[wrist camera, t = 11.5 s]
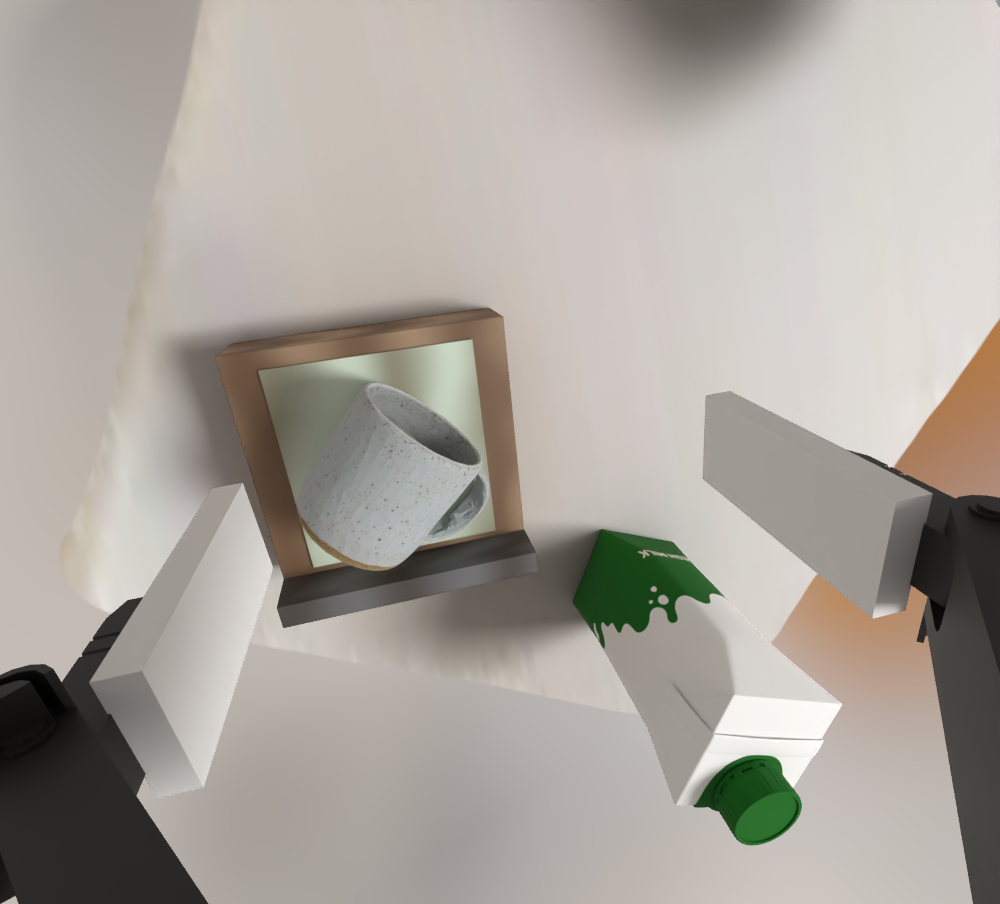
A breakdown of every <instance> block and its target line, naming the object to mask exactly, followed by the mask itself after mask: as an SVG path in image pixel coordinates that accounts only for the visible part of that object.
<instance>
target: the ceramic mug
mask: <svg viewBox="0 0 1000 904" xmlns="http://www.w3.org/2000/svg"><path fill="white" fill-rule="evenodd" d="M482 466H483V462H482V457H481V455H480V454H479V452H478V451H477V449H476V448H475V447H474V445H473V444H472V443H471V442H470V440H469V439H468V438H467V437H466V436H465V435H464V434H463V433H462V432H461V431H460V430H459V429H457V428H456V427H455V426H454V425H453V424H452V423H450V422H449V421H448V420H447V419H446V418H444V417H443V416H442V415H440V414H438V413H437V412H435V411H434V410H433V409H431V408H430V407H429V406H427V405H426V404H424V403H423V402H421V401H419V400H418V399H416V398H414V397H412V396H411V395H409V394H407V393H404V392H403V391H401V390H399V389H396V388H393V387H391V386H389V385H385V384H382V383H377V382H374V383H368V384H365V385H364V386H363V387H362V388H361V389H360V391H359V392H358V394H357V395H356V397H355V399H354V401H353V402H352V404H351V406H350V407H349V409H348V410H347V412H346V414H345V415H344V417H343V418H342V420H341V421H340V423H339V425H338V426H337V428H336V429H335V431H334V432H333V434H332V435H331V437H330V439H329V441H328V443H327V444H326V446H325V448H324V449H323V451H322V452H321V454H320V455H319V457H318V458H317V460H316V461H315V463H314V465H313V466H312V468H311V469H310V471H309V472H308V474H307V476H306V477H305V480H304V482H303V485H302V487H301V489H300V492H299V494H298V498H297V502H296V503H297V514H298V517H299V520H300V523H301V525H302V526H303V528H304V529H305V531H306V532H307V534H308V535H309V536H310V538H311V539H312V540H313V541H314V542H315V543H316V544H317V545H318V546H319V547H321V548H322V549H323V550H324V551H325V552H326V553H328V554H330V555H331V556H333V557H335V558H336V559H338V560H340V561H342V562H343V563H346V564H348V565H351V566H354V567H356V568H360V569H364V570H372V571H381V570H388V569H391V568H394V567H396V566H397V565H399V564H400V563H401V562H403V561H404V560H405V559H406V558H408V557H409V556H410V555H411V554H412V553H413V552H414V551H415V550H416V549H417V548H418V547H419V546H420V544H421V543H422V542H423V541H435V540H442V539H445V538H448V537H450V536H453V535H454V534H456V533H458V532H460V531H461V530H463V529H464V528H465V527H467V526H468V525H469V524H470V523H471V522H472V521H473V520H474V519H475V518H476V517H477V516H478V515H479V514H480V513H481V511H482V510H483V508H484V507H485V505H486V503H487V501H488V498H489V493H490V490H489V482H488V478H487V477H486V475H485V473H484V471H483V470H482V469H481V468H482ZM475 477H476V480H475V484H474V485H473V489H472V490H471V492H470V493H469V494H468V496H467V497H466V498H465V499H464V500H463V501H462V502H461V503H460V504H459V506H458V507H457V508H456V509H455V510H454V511H452V512H451V513H450V515H449V516H447V517H445V518H443V519H441V517H442V516H443V515H444V514H445V513H446V512H447V510H448V509H449V508H450V507H451V506H452V505H453V503H454V502H455V501H456V500H457V499H458V497H459V496H460V495H461V494H462V493H463V491H464V490H465V489H466V488H467V486H468V485H469V484H470V483H471V482H472V480H473V479H474V478H475ZM440 519H441V520H440Z"/></svg>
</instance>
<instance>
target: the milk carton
mask: <svg viewBox="0 0 1000 904" xmlns="http://www.w3.org/2000/svg"><path fill="white" fill-rule="evenodd" d="M573 603H574V605H575V606H576V608H577V609H578V611H579V612H580V614H581V615H582V617H583V618H584V620H585V621H586V623H587V624H588V625H589V627H590V628H591V630H592V631H593V633H594V634H595V636H596V637H597V639H598V640H599V642H600V644H601V646H602V647H603V649H604V651H605V653H606V655H607V656H608V658H609V660H610V662H611V663H612V665H613V667H614V669H615V671H616V672H617V674H618V676H619V678H620V679H621V681H622V683H623V685H624V687H625V688H626V690H627V692H628V694H629V696H630V697H631V699H632V701H633V703H634V704H635V706H636V708H637V710H638V712H639V713H640V715H641V717H642V719H643V721H644V722H645V724H646V726H647V728H648V731H649V733H650V736H651V739H652V742H653V744H654V747H655V750H656V753H657V755H658V758H659V761H660V764H661V767H662V769H663V773H664V775H665V778H666V781H667V784H668V787H669V790H670V792H671V795H672V798H673V801H674V803H675V804H676V805H679V806H680V805H682V806H684V805H693V806H694V807H709V808H711V809H713V810H715V811H719V812H720V814H721V815H722V817H723V819H724V820H725V822H726V823H727V825H728V827H729V828H730V830H731V831H732V833H733V835H734V836H735V837H736V839H737V840H738V841H739V842H741V843H743V844H746V845H759V844H763V843H766V842H769V841H771V840H774V839H775V838H777V837H779V836H780V835H782V834H783V833H785V832H786V831H787V830H788V829H789V828H790V827H791V826H792V825H793V824H794V823H795V822H796V820H797V818H798V817H799V815H800V812H801V808H802V807H801V806H802V804H801V800H800V798H799V796H798V795H797V793H796V792H795V790H794V789H793V787H794V785H795V784H796V782H797V780H798V779H799V777H800V775H801V774H802V772H803V771H804V769H805V768H806V766H807V765H808V763H809V762H810V760H811V758H812V757H813V756H814V755H815V754H816V753H817V752H818V750H819V748H820V746H821V745H822V743H823V739H822V736H823V735H824V733H825V732H826V730H827V728H828V727H829V725H830V723H831V722H832V720H833V719H834V717H835V715H836V714H837V712H838V711H839V709H840V707H841V706H842V704H841V703H840V702H839V701H838V700H836V699H835V698H834V697H833V696H831V695H830V694H829V693H828V692H827V691H825V690H824V689H823V688H822V687H821V686H820V685H818V684H817V683H816V682H815V681H814V680H812V679H811V678H810V677H809V676H808V675H807V674H805V673H804V672H803V671H802V670H801V669H800V668H798V667H797V666H796V665H795V664H794V663H793V662H791V661H790V660H789V659H788V658H787V657H785V656H784V655H783V654H782V653H781V652H779V651H778V650H777V649H776V648H775V647H774V646H773V645H772V644H771V643H770V642H769V641H768V640H767V639H766V638H765V637H764V636H763V635H762V634H761V633H760V632H759V631H758V630H757V629H756V628H755V627H754V626H753V625H752V624H751V623H750V622H749V621H748V620H747V619H746V618H745V617H744V616H743V615H742V614H741V613H740V612H739V611H738V610H737V609H736V608H735V607H734V606H733V605H732V604H731V603H730V602H729V601H728V600H727V599H726V598H725V597H724V596H723V595H722V594H721V592H720V591H719V590H718V589H717V588H716V587H715V586H714V585H713V584H712V583H711V582H710V581H709V580H708V579H707V578H706V577H705V576H704V575H703V574H702V573H701V572H700V571H699V570H698V569H697V568H696V567H695V566H694V565H693V564H692V563H691V562H690V560H689V559H688V558H687V557H686V556H685V555H684V554H683V553H682V552H681V550H680V549H679V548H678V547H677V546H676V545H675V544H674V543H673V542H668V541H663V540H657V539H652V538H646V537H641V536H635V535H629V534H624V533H618V532H613V531H607V530H601V532H600V535H599V537H598V540H597V542H596V545H595V547H594V550H593V552H592V555H591V557H590V560H589V562H588V565H587V567H586V570H585V572H584V575H583V577H582V580H581V582H580V585H579V587H578V590H577V592H576V595H575V597H574V600H573Z"/></svg>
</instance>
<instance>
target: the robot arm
mask: <svg viewBox="0 0 1000 904" xmlns="http://www.w3.org/2000/svg"><path fill="white" fill-rule="evenodd" d="M996 2H997V4H998V6H999V7H1000V0H996ZM703 479H704V480H705V481H706V482H707V483H708V484H710V485H711V486H712V487H713V488H715V489H716V490H717V491H718V492H719V493H721V494H722V495H723V496H724V497H725V498H727V499H728V500H729V501H730V502H732V503H733V504H734V505H735V506H736V507H738V508H739V509H740V510H741V511H742V512H744V513H745V514H746V515H747V516H749V517H750V518H751V519H752V520H753V521H755V522H756V523H757V524H758V525H759V526H761V527H762V528H763V529H764V530H766V531H767V532H768V533H769V534H770V535H772V536H773V537H774V538H775V539H776V540H778V541H779V542H780V543H781V544H783V545H784V546H785V547H786V548H787V549H789V550H790V551H791V552H792V553H793V554H795V555H796V556H797V557H798V558H800V559H801V560H802V561H803V562H804V563H806V564H807V565H808V566H809V567H810V568H812V569H813V570H814V571H815V572H817V573H818V574H819V575H820V576H822V577H823V578H824V579H825V580H826V581H828V582H829V583H830V584H831V585H832V586H833V587H835V588H836V589H838V591H840V592H841V593H842V594H843V595H844V596H846V597H847V598H848V599H849V600H851V601H852V602H853V603H854V604H855V605H857V606H858V607H859V608H860V609H861V610H863V611H864V612H865V613H866V614H867V615H869V616H870V617H871V618H877V617H881V616H885V615H889V614H892V613H896V612H900V611H904V610H906V606H907V602H908V597H909V593H910V589H911V585H912V586H913V587H915V588H916V589H918V590H919V591H921V592H922V593H923V594H925V595H926V596H928V598H927V602H926V606H925V610H924V614H923V617H922V622H921V625H920V629H919V634H918V638H917V642H922V643H923V642H924V639H925V636H927V635H928V639H929V645H930V651H931V657H932V663H933V668H934V675H935V681H936V686H937V693H938V699H939V704H940V711H941V716H942V722H943V728H944V734H945V740H946V746H947V752H948V758H949V764H950V770H951V776H952V782H953V788H954V793H955V799H956V805H957V811H958V817H959V823H960V828H961V835H962V841H963V846H964V853H965V859H966V864H967V870H968V876H969V882H970V888H971V893H972V900H973V904H1000V498H997V497H992V496H982V495H970V496H962V497H958V498H956V499H955V498H953V497H951V496H949V495H947V494H945V493H943V492H941V491H939V490H937V489H935V488H933V487H931V486H928V485H926V484H925V483H923V482H921V481H919V480H917V479H915V478H913V477H911V476H909V475H905V476H904V473H902V472H900V471H898V470H896V469H894V468H892V467H890V468H889V467H888V465H886V464H884V463H882V462H880V461H878V460H876V459H874V458H872V457H870V456H867V455H864V454H860V453H856V452H853V451H849V450H845V449H844V448H842V447H840V446H838V445H836V444H834V443H832V442H830V441H828V440H826V439H824V438H822V437H820V436H818V435H816V434H814V433H812V432H810V431H808V430H806V429H804V428H802V427H800V426H798V425H796V424H794V423H792V422H790V421H788V420H786V419H784V418H782V417H780V416H778V415H776V414H774V413H772V412H770V411H768V410H766V409H764V408H762V407H760V406H758V405H756V404H754V403H752V402H750V401H748V400H746V399H744V398H742V397H741V396H739V395H737V394H735V393H733V392H731V391H728V392H722V393H717V394H712V395H706V401H705V429H704V457H703ZM272 570H273V566H272V563H271V561H270V558H269V555H268V552H267V549H266V547H265V544H264V541H263V538H262V535H261V532H260V530H259V527H258V524H257V521H256V518H255V516H254V513H253V510H252V507H251V504H250V502H249V499H248V496H247V493H246V490H245V488H244V485H243V483H238V484H233V485H227V486H222V487H217V488H212V490H211V491H210V493H209V495H208V496H207V498H206V499H205V501H204V502H203V504H202V506H201V507H200V509H199V510H198V512H197V513H196V515H195V517H194V518H193V520H192V521H191V523H190V524H189V526H188V528H187V529H186V531H185V532H184V534H183V535H182V537H181V539H180V540H179V542H178V543H177V545H176V546H175V548H174V550H173V551H172V553H171V554H170V556H169V558H168V559H167V561H166V562H165V564H164V565H163V567H162V569H161V570H160V572H159V573H158V575H157V576H156V578H155V580H154V581H153V583H152V584H151V586H150V587H149V589H148V591H147V592H146V594H145V595H144V597H141V598H136V599H132V600H127V601H126V602H125V603H124V604H123V605H122V606H120V607H119V608H118V609H117V610H116V611H114V612H113V613H112V614H111V615H110V616H109V617H107V618H106V620H105V621H104V622H103V624H102V625H101V627H100V628H99V629H98V631H97V633H96V634H95V635H94V637H93V641H90V642H89V644H88V645H87V647H86V648H85V650H84V651H83V653H82V657H79V658H78V660H77V661H76V663H75V664H74V665H73V667H72V668H71V670H70V671H69V673H68V674H67V676H66V677H65V678H64V680H63V681H62V682H61V681H60V679H59V678H58V676H57V674H56V673H55V671H54V669H52V668H51V667H49V666H47V665H45V664H40V665H28V666H24V667H21V668H17V669H13V670H10V671H8V672H6V673H4V674H2V675H0V904H1V903H3V902H5V901H6V900H8V899H10V898H12V897H14V896H16V898H17V901H18V903H19V904H208V903H207V901H206V900H205V898H204V897H203V895H202V894H201V892H200V891H199V889H198V888H197V886H196V885H195V883H194V882H193V880H192V879H191V877H190V876H189V874H188V873H187V871H186V870H185V868H184V867H183V865H182V864H181V862H180V861H179V859H178V858H177V856H176V855H175V853H174V852H173V850H172V849H171V847H170V846H169V844H168V843H167V841H166V840H165V838H164V837H163V835H162V834H161V832H160V831H159V829H158V828H157V826H156V825H155V823H154V822H153V820H152V819H151V817H150V816H149V815H148V813H147V811H146V810H145V809H144V807H143V805H142V804H141V802H140V801H139V799H138V798H137V796H136V795H137V793H138V791H139V788H140V785H141V783H142V781H143V779H144V777H145V779H146V781H147V782H148V784H149V785H150V787H151V789H152V791H153V792H154V794H155V796H156V798H157V799H160V798H163V797H168V796H172V795H175V794H180V793H184V792H187V791H191V790H195V789H199V788H203V787H204V784H205V781H206V778H207V775H208V772H209V769H210V765H211V762H212V759H213V756H214V753H215V750H216V747H217V743H218V740H219V737H220V734H221V731H222V727H223V725H224V721H225V718H226V715H227V712H228V709H229V706H230V703H231V699H232V696H233V693H234V690H235V687H236V684H237V680H238V677H239V674H240V671H241V668H242V665H243V662H244V658H245V655H246V652H247V649H248V646H249V643H250V640H251V636H252V633H253V630H254V627H255V624H256V621H257V618H258V614H259V611H260V608H261V605H262V602H263V599H264V596H265V592H266V589H267V586H268V583H269V580H270V577H271V573H272Z"/></svg>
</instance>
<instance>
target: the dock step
mask: <svg viewBox="0 0 1000 904" xmlns="http://www.w3.org/2000/svg"><path fill="white" fill-rule="evenodd" d="M215 359H216V362H217V365H218V369H219V372H220V375H221V378H222V381H223V385H224V388H225V391H226V394H227V398H228V401H229V404H230V407H231V410H232V414H233V417H234V420H235V423H236V426H237V430H238V433H239V436H240V439H241V443H242V446H243V449H244V452H245V455H246V459H247V462H248V465H249V468H250V472H251V475H252V478H253V481H254V484H255V488H256V491H257V494H258V497H259V500H260V504H261V507H262V510H263V513H264V517H265V520H266V523H267V526H268V529H269V533H270V536H271V539H272V542H273V545H274V549H275V552H276V555H277V558H278V562H279V565H280V568H281V571H282V574H283V578H284V581H283V585H282V589H281V593H280V597H279V602H278V606H277V610H278V613H279V616H280V619H281V622H282V625H283V628H286V627H290V626H295V625H300V624H304V623H309V622H313V621H318V620H322V619H327V618H331V617H336V616H340V615H345V614H349V613H354V612H358V611H363V610H367V609H372V608H376V607H381V606H385V605H390V604H395V603H399V602H404V601H408V600H413V599H417V598H422V597H426V596H431V595H435V594H440V593H444V592H449V591H453V590H458V589H462V588H467V587H471V586H476V585H480V584H485V583H490V582H494V581H499V580H503V579H508V578H512V577H517V576H521V575H526V574H530V573H535V572H538V569H537V558H536V552H535V550H534V548H533V546H532V544H531V542H530V540H529V538H528V536H527V534H526V532H525V530H524V525H523V514H522V504H521V494H520V484H519V474H518V464H517V453H516V443H515V433H514V423H513V413H512V402H511V392H510V382H509V372H508V362H507V352H506V341H505V331H504V321H503V316H501V315H499V314H498V313H496V312H495V311H493V310H492V309H490V308H486V309H479V310H472V311H465V312H457V313H450V314H443V315H436V316H429V317H421V318H414V319H407V320H400V321H392V322H385V323H378V324H371V325H364V326H356V327H349V328H342V329H335V330H327V331H320V332H313V333H306V334H299V335H291V336H284V337H277V338H270V339H262V340H255V341H248V342H241V343H234V344H231V345H230V346H228V347H227V348H226V349H225V350H224V351H222V352H221V353H220V354H219V355H218V356H216V357H215ZM374 382H377V383H382V384H385V385H389V386H391V387H393V388H396V389H399V390H401V391H403V392H404V393H407V394H409V395H411V396H412V397H414V398H416V399H418V400H419V401H421V402H423V403H424V404H426V405H427V406H429V407H430V408H431V409H433V410H434V411H435V412H437V413H438V414H440V415H442V416H443V417H444V418H446V419H447V420H448V421H449V422H450V423H452V424H453V425H454V426H455V427H456V428H457V429H459V430H460V431H461V432H462V433H463V434H464V435H465V436H466V437H467V438H468V439H469V440H470V442H471V443H472V444H473V445H474V447H475V448H476V449H477V451H478V452H479V454H480V455H481V457H482V462H483V466H482V468H481V469H482V470H483V471H484V473H485V475H486V477H487V478H488V482H489V490H490V493H489V498H488V501H487V503H486V505H485V507H484V508H483V510H482V511H481V513H480V514H479V515H478V516H477V517H476V518H475V519H474V520H473V521H472V522H471V523H470V524H469V525H468V526H467V527H465V528H464V529H463V530H461V531H460V532H458V533H456V534H454V535H453V536H450V537H448V538H445V539H442V540H435V541H423V542H422V543H421V544H420V546H419V547H418V548H417V549H416V550H415V551H414V552H413V553H412V554H411V555H410V556H409V557H408V558H406V559H405V560H404V561H403V562H401V563H400V564H399V565H397V566H396V567H394V568H391V569H388V570H381V571H372V570H364V569H360V568H356V567H354V566H351V565H348V564H346V563H343V562H342V561H340V560H338V559H336V558H335V557H333V556H331V555H330V554H328V553H326V552H325V551H324V550H323V549H322V548H321V547H319V546H318V545H317V544H316V543H315V542H314V541H313V540H312V539H311V538H310V536H309V535H308V534H307V532H306V531H305V529H304V528H303V526H302V525H301V523H300V520H299V517H298V514H297V503H296V502H297V498H298V494H299V492H300V489H301V487H302V485H303V482H304V480H305V477H306V476H307V474H308V472H309V471H310V469H311V468H312V466H313V465H314V463H315V461H316V460H317V458H318V457H319V455H320V454H321V452H322V451H323V449H324V448H325V446H326V444H327V443H328V441H329V439H330V437H331V435H332V434H333V432H334V431H335V429H336V428H337V426H338V425H339V423H340V421H341V420H342V418H343V417H344V415H345V414H346V412H347V410H348V409H349V407H350V406H351V404H352V402H353V401H354V399H355V397H356V395H357V394H358V392H359V391H360V389H361V388H362V387H363V386H364V385H365V384H368V383H374ZM475 480H476V477H475V478H474V479H473V480H472V482H471V483H470V484H469V485H468V486H467V488H466V489H465V490H464V491H463V493H462V494H461V495H460V496H459V497H458V499H457V500H456V501H455V502H454V503H453V505H452V506H451V507H450V508H449V509H448V510H447V512H446V513H445V514H444V515H443V516H442V517H441V519H443V518H445V517H447V516H449V515H450V513H451V512H452V511H454V510H455V509H456V508H457V507H458V506H459V504H460V503H461V502H462V501H463V500H464V499H465V498H466V497H467V496H468V494H469V493H470V492H471V490H472V489H473V485H474V484H475ZM441 519H440V520H441Z"/></svg>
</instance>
